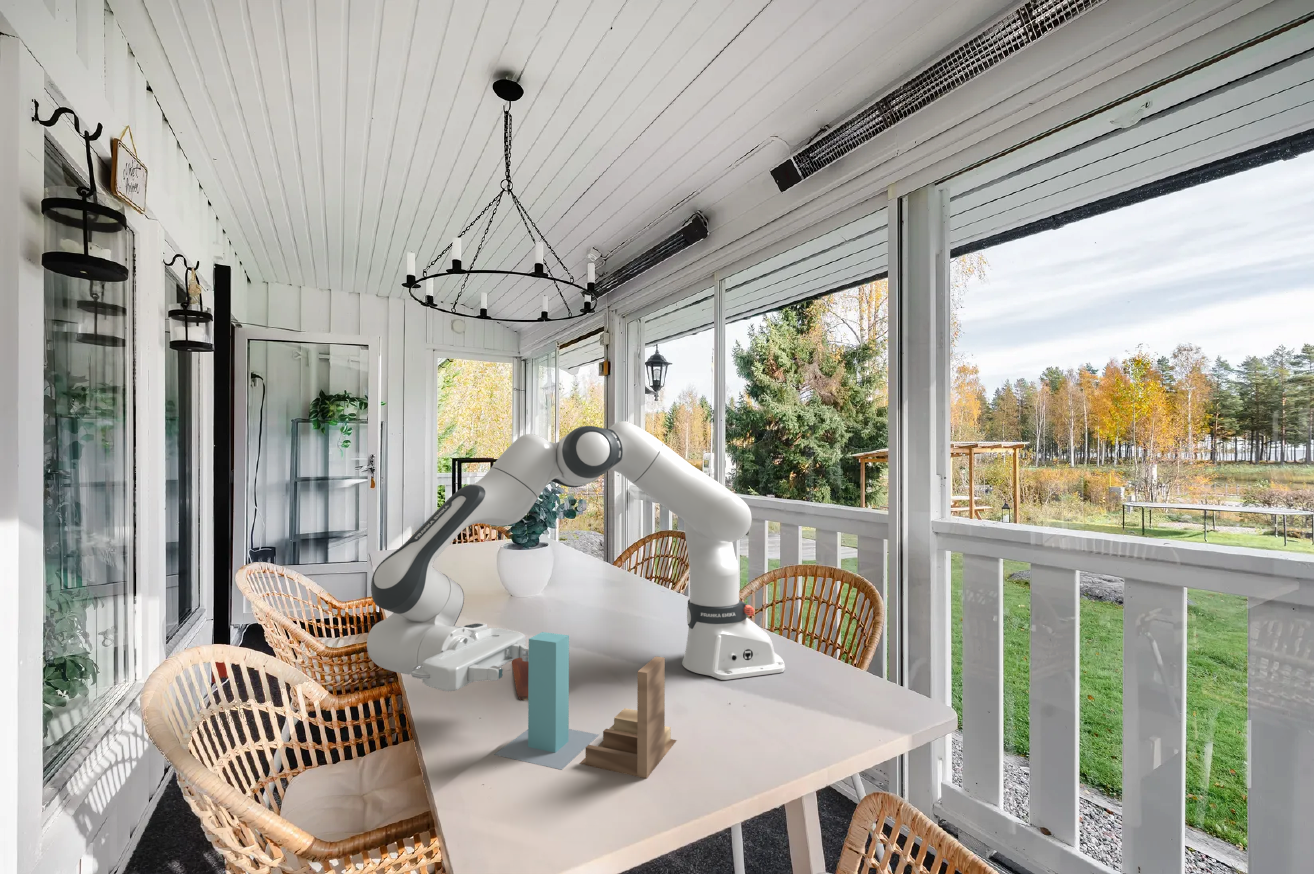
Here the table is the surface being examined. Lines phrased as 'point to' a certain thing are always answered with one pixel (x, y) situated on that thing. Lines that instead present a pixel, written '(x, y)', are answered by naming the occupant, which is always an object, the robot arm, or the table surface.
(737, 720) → the table surface
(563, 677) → the tall teal block
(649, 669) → the walnut rack
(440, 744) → the table surface
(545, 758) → the slate mat
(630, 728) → the upper oak offcut
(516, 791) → the table surface
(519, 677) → the wooden tablet
